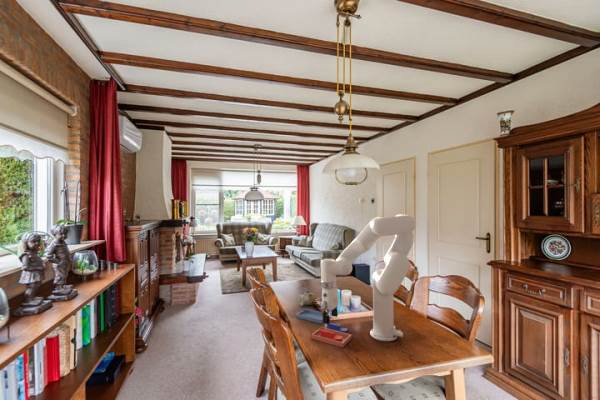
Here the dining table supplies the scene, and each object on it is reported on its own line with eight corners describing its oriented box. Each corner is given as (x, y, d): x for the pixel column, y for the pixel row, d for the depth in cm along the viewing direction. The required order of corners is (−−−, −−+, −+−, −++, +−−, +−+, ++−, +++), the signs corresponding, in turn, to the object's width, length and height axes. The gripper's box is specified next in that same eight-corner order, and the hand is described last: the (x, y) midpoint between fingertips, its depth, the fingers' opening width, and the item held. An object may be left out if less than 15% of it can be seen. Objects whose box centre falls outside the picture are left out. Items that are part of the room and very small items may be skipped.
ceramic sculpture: (295, 289, 182) (316, 288, 187) (294, 303, 182) (315, 301, 187) (300, 294, 172) (323, 293, 177) (299, 308, 172) (322, 307, 177)
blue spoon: (325, 329, 143) (325, 323, 143) (329, 326, 147) (329, 321, 147) (345, 334, 138) (345, 328, 138) (348, 331, 141) (348, 325, 141)
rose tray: (351, 338, 133) (351, 334, 133) (343, 347, 124) (343, 343, 124) (321, 330, 141) (321, 326, 142) (311, 338, 133) (311, 334, 133)
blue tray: (330, 317, 159) (330, 313, 159) (321, 323, 150) (321, 320, 150) (305, 311, 167) (305, 308, 167) (296, 317, 159) (296, 314, 159)
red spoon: (319, 336, 134) (319, 331, 134) (323, 333, 137) (323, 328, 137) (340, 342, 128) (340, 336, 128) (343, 339, 132) (343, 333, 132)
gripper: (328, 290, 129) (330, 328, 128) (342, 281, 144) (344, 314, 143) (314, 288, 133) (315, 325, 132) (329, 279, 148) (330, 312, 147)
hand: (330, 319), depth 138 cm, fingers open, 9 cm apart
